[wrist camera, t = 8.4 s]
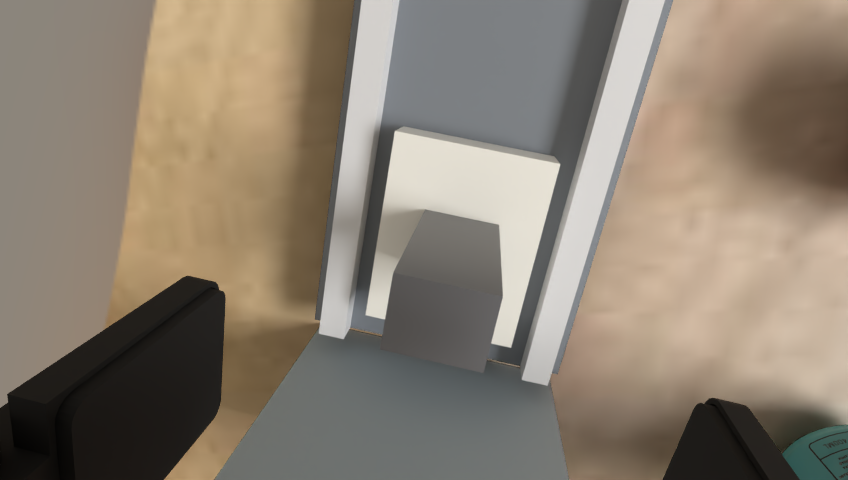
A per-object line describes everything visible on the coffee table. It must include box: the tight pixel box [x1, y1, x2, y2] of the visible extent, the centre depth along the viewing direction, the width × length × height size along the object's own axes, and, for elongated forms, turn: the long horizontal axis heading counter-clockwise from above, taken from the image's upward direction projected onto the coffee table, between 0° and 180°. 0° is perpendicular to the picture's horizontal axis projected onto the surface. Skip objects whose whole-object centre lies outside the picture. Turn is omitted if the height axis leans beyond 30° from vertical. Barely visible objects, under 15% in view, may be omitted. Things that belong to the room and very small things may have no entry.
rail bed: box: [315, 0, 673, 386], centre depth 21 cm, size 22×12×3 cm, turn 170°
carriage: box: [366, 126, 560, 373], centre depth 18 cm, size 8×6×9 cm
